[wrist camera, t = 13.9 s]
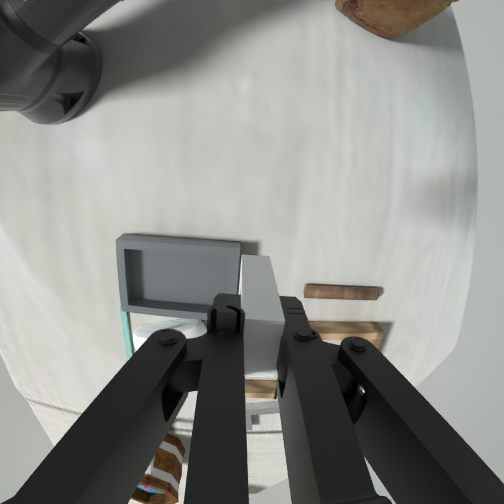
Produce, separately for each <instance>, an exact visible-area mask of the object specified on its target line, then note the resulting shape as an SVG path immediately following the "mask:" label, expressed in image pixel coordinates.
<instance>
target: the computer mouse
mask: <svg viewBox="0 0 504 504" xmlns="http://www.w3.org/2000/svg"><path fill="white" fill-rule="evenodd" d="M160 329H175V330H178V331H180V332H182V333H183V334H184V335H185V336H186V339H188V338H195V337H199V336H202V335H203V334H205V333H206V332H207V329H206V327H205V325H204V323H203V322H202V321H201V320H199V319H188V318H185V319H177V320H171V321H164V322H157V323H151V324H144V325H140V326H138V327H136V329H135V331H134V336H133V340H134V345H135V348H136V350H138V349H139V347H140V346H141V345H142V344H143V343H144V342H145V341H146V340H147V338H148V337H149V336H150V335H151V334H152V333H154V332H155V331H157V330H160Z"/></svg>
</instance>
